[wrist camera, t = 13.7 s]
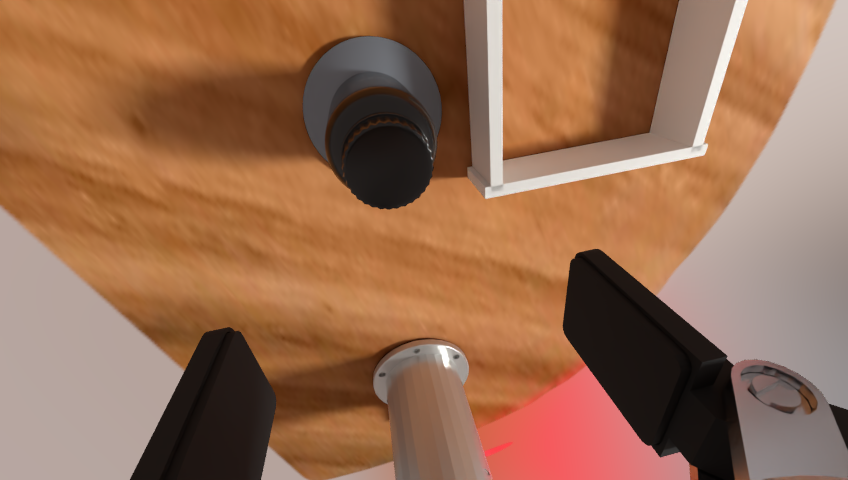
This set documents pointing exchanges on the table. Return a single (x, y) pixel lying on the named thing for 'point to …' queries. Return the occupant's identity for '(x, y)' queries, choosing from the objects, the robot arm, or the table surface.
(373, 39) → the mat
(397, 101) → the supplement bottle
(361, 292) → the table surface
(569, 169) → the white u-shaped bracket
